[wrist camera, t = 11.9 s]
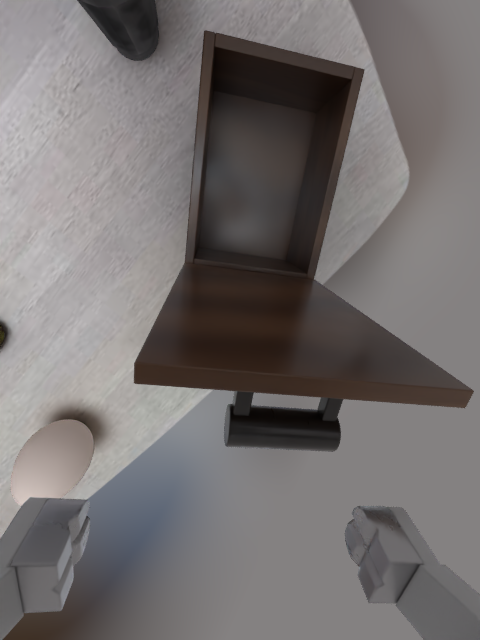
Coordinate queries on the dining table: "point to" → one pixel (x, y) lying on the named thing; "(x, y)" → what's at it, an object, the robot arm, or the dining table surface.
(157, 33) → the beverage cup
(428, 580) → the robot arm
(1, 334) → the toy car
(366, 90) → the dining table surface
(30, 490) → the egg
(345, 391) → the chest lid
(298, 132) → the chest
